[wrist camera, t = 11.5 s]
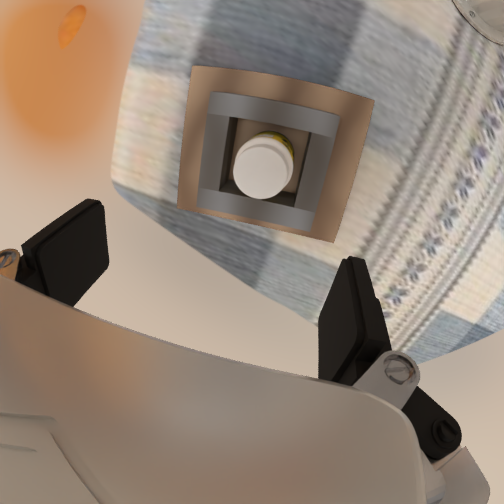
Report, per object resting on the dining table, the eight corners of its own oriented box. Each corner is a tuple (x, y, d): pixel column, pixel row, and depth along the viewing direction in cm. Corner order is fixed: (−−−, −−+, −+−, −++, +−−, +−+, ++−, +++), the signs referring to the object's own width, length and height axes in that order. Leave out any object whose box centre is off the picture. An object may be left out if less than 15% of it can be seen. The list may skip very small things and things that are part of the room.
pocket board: (372, 100, 24) (386, 101, 20) (332, 238, 32) (337, 262, 28) (195, 66, 25) (176, 62, 21) (180, 204, 33) (162, 222, 29)
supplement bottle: (298, 172, 28) (297, 201, 21) (252, 179, 29) (235, 209, 22) (289, 126, 26) (286, 136, 19) (242, 134, 27) (220, 148, 20)
